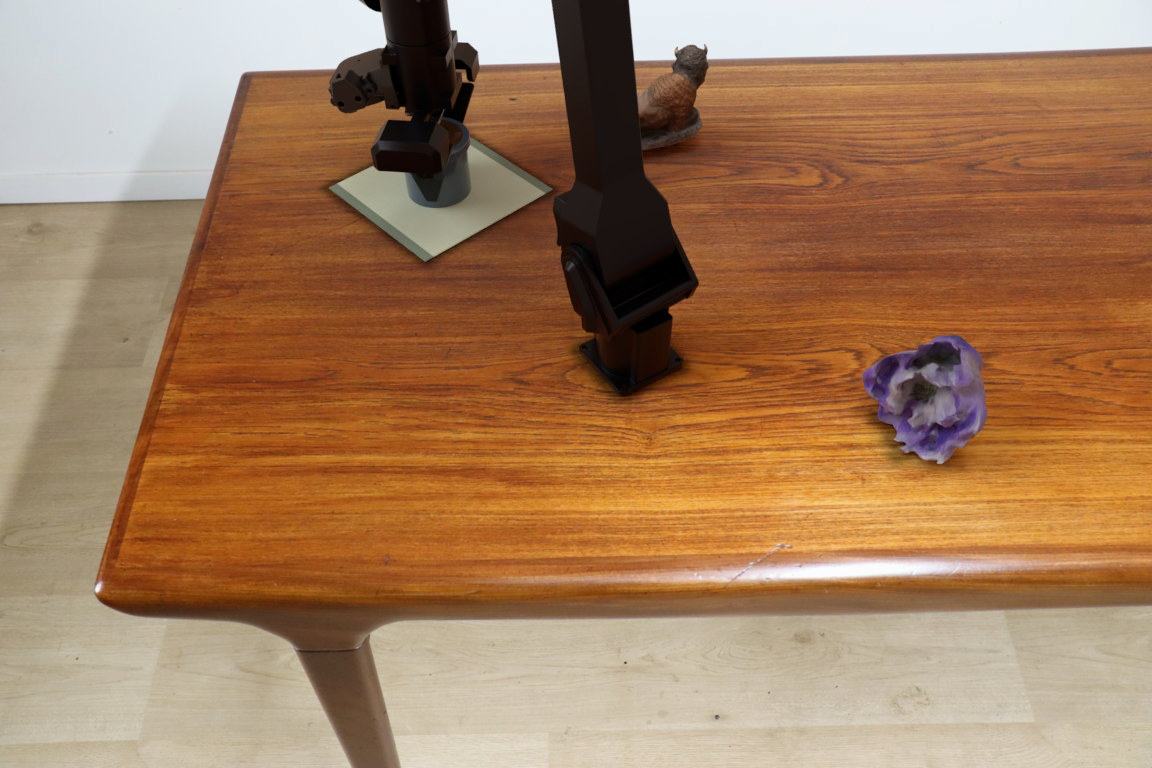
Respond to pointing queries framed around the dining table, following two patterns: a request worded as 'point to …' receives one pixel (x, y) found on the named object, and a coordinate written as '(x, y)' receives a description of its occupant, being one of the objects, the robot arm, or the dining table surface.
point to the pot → (449, 170)
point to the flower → (931, 396)
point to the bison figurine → (673, 101)
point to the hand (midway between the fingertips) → (439, 180)
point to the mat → (442, 228)
